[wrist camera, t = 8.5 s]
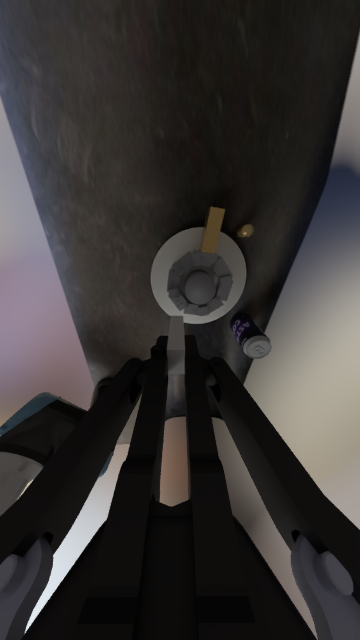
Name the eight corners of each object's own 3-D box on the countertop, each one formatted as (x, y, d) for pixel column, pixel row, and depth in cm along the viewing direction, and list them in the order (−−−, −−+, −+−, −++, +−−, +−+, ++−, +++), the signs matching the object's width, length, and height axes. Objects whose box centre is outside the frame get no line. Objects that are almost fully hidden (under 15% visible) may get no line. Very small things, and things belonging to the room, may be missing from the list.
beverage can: (240, 308, 39) (261, 333, 29) (254, 320, 41) (279, 348, 30) (224, 323, 41) (238, 351, 31) (238, 333, 43) (257, 364, 32)
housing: (210, 332, 43) (215, 349, 36) (138, 298, 38) (129, 310, 32) (264, 261, 34) (284, 266, 27) (178, 204, 29) (177, 193, 22)
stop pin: (239, 239, 32) (248, 239, 27) (231, 234, 31) (239, 233, 27) (245, 229, 31) (256, 228, 26) (237, 224, 30) (247, 221, 26)
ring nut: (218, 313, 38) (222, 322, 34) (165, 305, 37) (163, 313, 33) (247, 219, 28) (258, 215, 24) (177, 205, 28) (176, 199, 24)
